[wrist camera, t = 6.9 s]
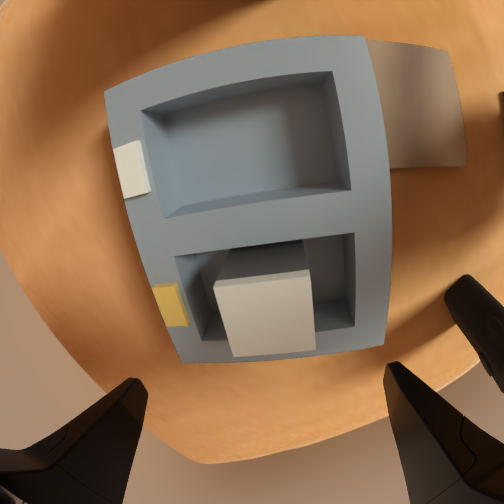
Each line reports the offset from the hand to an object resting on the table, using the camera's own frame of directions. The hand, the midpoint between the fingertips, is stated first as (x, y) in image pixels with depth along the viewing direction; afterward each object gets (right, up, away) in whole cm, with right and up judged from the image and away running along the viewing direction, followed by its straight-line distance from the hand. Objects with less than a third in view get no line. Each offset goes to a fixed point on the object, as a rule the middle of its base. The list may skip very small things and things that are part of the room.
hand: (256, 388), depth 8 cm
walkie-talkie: (+17, +1, +9) cm, 20 cm away
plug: (+1, +4, +8) cm, 9 cm away
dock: (+1, +7, +8) cm, 11 cm away
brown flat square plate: (+10, +14, +4) cm, 17 cm away
